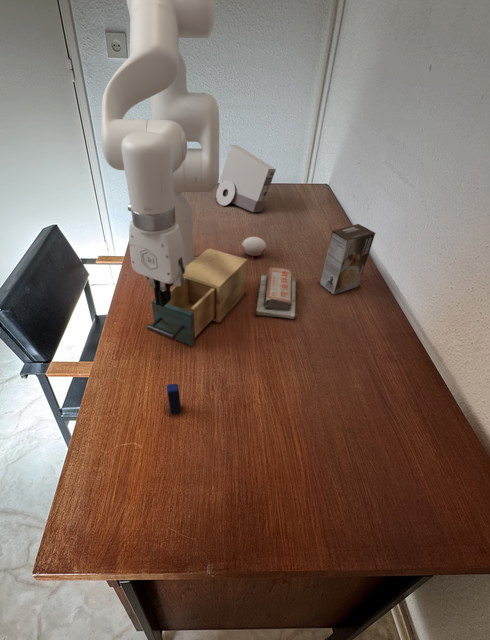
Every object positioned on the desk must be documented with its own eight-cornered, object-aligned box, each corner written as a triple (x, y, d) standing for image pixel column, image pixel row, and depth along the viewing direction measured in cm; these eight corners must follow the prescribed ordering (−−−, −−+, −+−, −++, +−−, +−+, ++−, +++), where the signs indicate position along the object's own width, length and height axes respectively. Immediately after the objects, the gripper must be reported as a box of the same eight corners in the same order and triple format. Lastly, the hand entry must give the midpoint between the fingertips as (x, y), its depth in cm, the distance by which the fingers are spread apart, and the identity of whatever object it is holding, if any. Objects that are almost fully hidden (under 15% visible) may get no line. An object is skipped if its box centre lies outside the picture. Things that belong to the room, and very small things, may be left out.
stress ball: (263, 262, 121) (266, 240, 120) (264, 259, 113) (268, 236, 112) (240, 259, 121) (243, 238, 120) (240, 256, 113) (243, 233, 112)
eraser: (181, 413, 73) (179, 390, 68) (169, 414, 73) (166, 391, 68) (180, 405, 75) (178, 382, 70) (169, 406, 74) (166, 383, 70)
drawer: (180, 358, 83) (178, 327, 77) (143, 342, 86) (138, 312, 80) (220, 315, 94) (220, 285, 88) (185, 303, 97) (184, 273, 91)
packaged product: (262, 263, 104) (298, 267, 103) (260, 279, 108) (295, 282, 107) (257, 300, 92) (297, 304, 91) (255, 316, 95) (294, 320, 94)
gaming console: (210, 200, 148) (218, 142, 136) (223, 199, 152) (232, 143, 140) (252, 218, 136) (265, 157, 124) (265, 217, 141) (279, 157, 128)
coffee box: (343, 276, 109) (359, 222, 98) (358, 287, 105) (377, 232, 94) (318, 284, 106) (332, 229, 95) (333, 295, 102) (349, 240, 91)
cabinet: (218, 322, 93) (219, 286, 86) (180, 308, 97) (177, 273, 90) (244, 294, 102) (247, 259, 95) (208, 282, 106) (208, 248, 98)
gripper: (106, 214, 65) (124, 301, 78) (177, 235, 60) (183, 323, 73) (133, 199, 69) (146, 283, 83) (201, 218, 64) (203, 304, 78)
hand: (163, 302), depth 78 cm, fingers closed
